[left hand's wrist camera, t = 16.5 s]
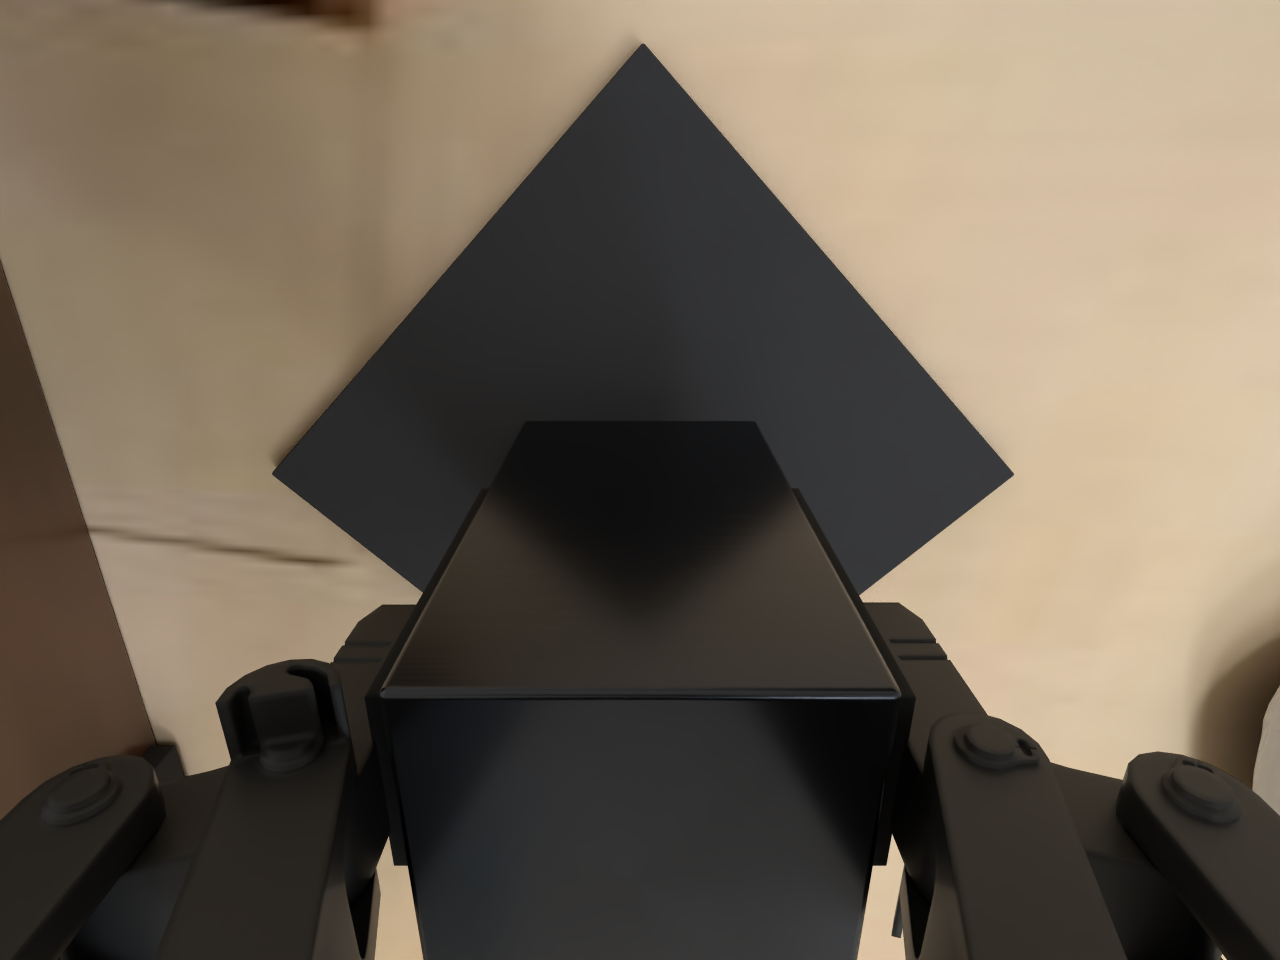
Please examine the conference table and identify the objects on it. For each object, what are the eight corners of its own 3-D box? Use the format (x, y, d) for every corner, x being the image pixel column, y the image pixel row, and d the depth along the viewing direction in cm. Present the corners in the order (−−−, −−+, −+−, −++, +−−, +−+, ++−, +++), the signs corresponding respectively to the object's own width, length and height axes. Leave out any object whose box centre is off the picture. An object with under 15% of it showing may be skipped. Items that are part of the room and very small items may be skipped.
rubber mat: (643, 46, 15) (643, 41, 15) (1007, 469, 19) (1015, 474, 18) (278, 468, 19) (270, 473, 18) (642, 755, 22) (641, 764, 22)
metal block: (524, 419, 15) (374, 692, 7) (756, 419, 15) (907, 691, 7) (536, 619, 17) (432, 1032, 8) (743, 619, 17) (847, 1032, 8)
